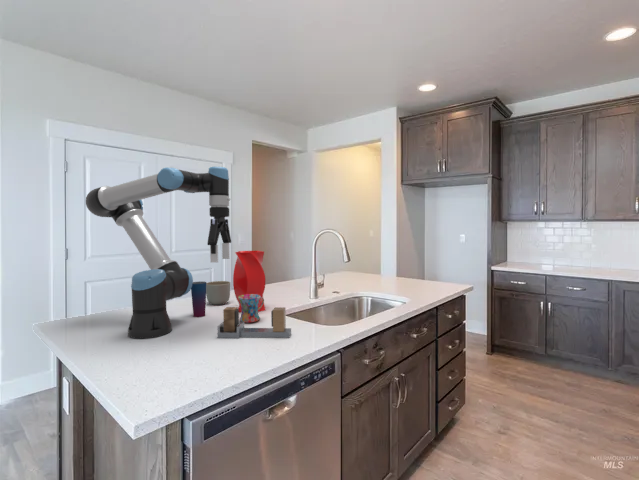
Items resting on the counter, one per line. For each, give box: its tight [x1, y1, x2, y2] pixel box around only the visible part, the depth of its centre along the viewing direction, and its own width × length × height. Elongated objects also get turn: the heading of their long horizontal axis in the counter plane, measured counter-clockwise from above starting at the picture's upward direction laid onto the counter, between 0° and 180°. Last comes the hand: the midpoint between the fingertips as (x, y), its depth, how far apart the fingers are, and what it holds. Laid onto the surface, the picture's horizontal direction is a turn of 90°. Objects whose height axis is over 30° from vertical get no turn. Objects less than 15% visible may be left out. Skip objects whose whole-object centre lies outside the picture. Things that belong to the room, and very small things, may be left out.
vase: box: [232, 250, 266, 313], centre depth 169 cm, size 15×14×28 cm
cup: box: [190, 281, 208, 318], centre depth 159 cm, size 7×7×15 cm
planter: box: [206, 280, 231, 306], centre depth 183 cm, size 12×12×11 cm
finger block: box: [222, 306, 240, 331], centre depth 131 cm, size 5×4×8 cm
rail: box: [216, 306, 292, 339], centre depth 130 cm, size 26×7×10 cm, turn 87°
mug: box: [238, 294, 265, 324], centre depth 151 cm, size 12×9×11 cm
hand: (220, 260), depth 140 cm, fingers open, 13 cm apart
